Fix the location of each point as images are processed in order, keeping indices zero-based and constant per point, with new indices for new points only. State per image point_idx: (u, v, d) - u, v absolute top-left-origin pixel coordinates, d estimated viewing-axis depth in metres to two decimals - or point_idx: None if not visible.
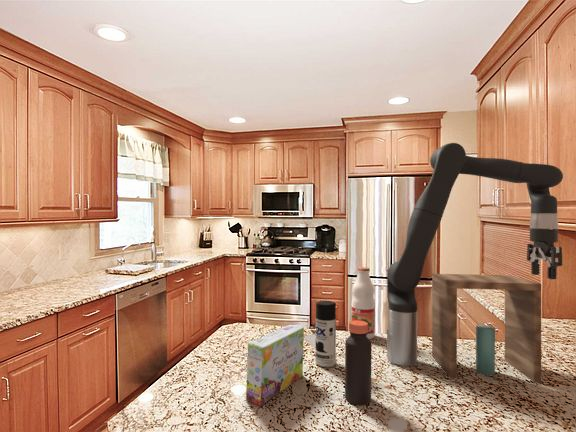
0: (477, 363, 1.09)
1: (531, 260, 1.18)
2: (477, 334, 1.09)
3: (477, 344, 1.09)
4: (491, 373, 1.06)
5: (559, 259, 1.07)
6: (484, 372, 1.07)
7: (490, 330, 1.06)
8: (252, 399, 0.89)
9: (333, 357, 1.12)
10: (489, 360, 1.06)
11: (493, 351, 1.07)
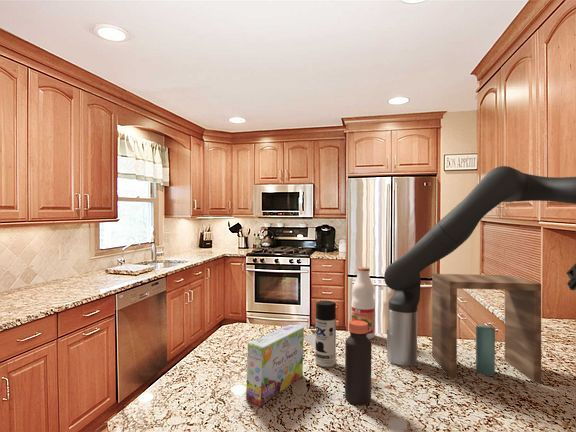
0: (477, 363, 1.09)
1: None
2: (477, 334, 1.09)
3: (477, 344, 1.09)
4: (491, 373, 1.06)
5: None
6: (484, 372, 1.07)
7: (490, 330, 1.06)
8: (252, 399, 0.89)
9: (333, 357, 1.12)
10: (489, 360, 1.06)
11: (493, 351, 1.07)
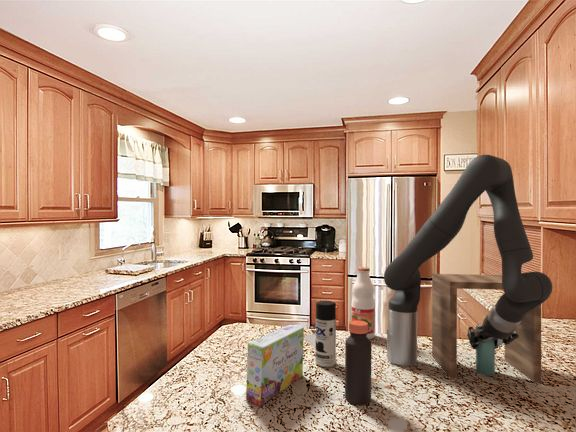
0: (477, 363, 1.09)
1: None
2: None
3: None
4: (491, 373, 1.06)
5: None
6: (484, 372, 1.07)
7: None
8: (252, 399, 0.89)
9: (333, 357, 1.12)
10: (489, 360, 1.06)
11: (493, 351, 1.07)
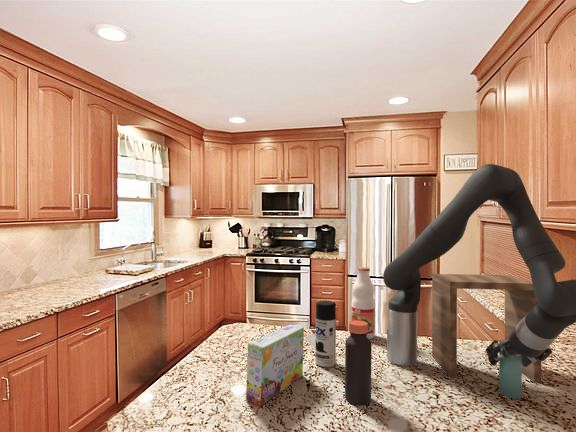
0: (501, 384, 0.95)
1: None
2: None
3: (501, 362, 0.95)
4: (518, 396, 0.92)
5: None
6: (510, 395, 0.93)
7: None
8: (252, 399, 0.89)
9: (333, 357, 1.12)
10: (515, 381, 0.92)
11: (520, 371, 0.93)
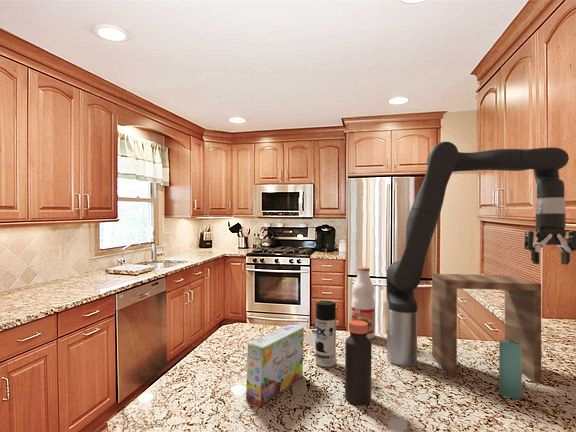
0: (501, 384, 0.95)
1: None
2: (501, 351, 0.95)
3: (501, 362, 0.95)
4: (518, 396, 0.92)
5: None
6: (510, 395, 0.93)
7: (517, 347, 0.92)
8: (252, 399, 0.89)
9: (333, 357, 1.12)
10: (515, 381, 0.92)
11: (520, 371, 0.93)
